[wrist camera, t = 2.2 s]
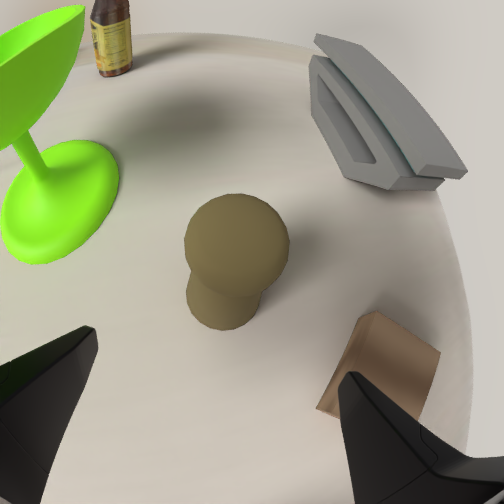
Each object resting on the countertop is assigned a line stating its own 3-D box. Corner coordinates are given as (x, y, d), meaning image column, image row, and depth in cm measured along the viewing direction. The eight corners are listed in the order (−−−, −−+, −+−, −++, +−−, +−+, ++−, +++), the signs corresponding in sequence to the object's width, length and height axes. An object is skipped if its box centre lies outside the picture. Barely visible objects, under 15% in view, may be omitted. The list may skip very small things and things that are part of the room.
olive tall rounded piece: (247, 252, 24) (279, 168, 14) (269, 318, 22) (326, 273, 12) (178, 268, 22) (163, 186, 12) (197, 339, 20) (190, 311, 10)
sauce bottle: (103, 66, 34) (95, -27, 16) (135, 60, 35) (134, -36, 17) (94, 82, 31) (81, -22, 13) (130, 76, 33) (125, -33, 15)
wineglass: (74, 287, 20) (-66, 143, 3) (-17, 240, 19) (-102, 141, 2) (144, 152, 26) (129, -6, 10) (48, 136, 26) (12, 25, 9)
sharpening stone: (411, 222, 29) (468, 171, 19) (365, 227, 27) (426, 164, 18) (337, 95, 38) (361, 45, 29) (296, 90, 37) (316, 33, 27)
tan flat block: (388, 437, 18) (408, 442, 16) (315, 408, 19) (331, 413, 16) (421, 354, 22) (441, 350, 20) (359, 316, 23) (377, 308, 20)
